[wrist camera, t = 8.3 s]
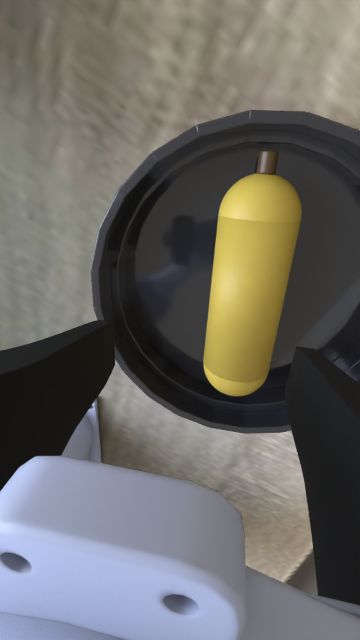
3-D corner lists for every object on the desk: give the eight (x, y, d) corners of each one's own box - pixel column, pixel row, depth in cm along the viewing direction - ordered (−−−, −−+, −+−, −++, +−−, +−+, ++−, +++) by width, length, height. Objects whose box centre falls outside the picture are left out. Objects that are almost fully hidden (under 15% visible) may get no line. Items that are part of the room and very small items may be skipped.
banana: (260, 376, 22) (266, 415, 18) (203, 368, 22) (197, 404, 19) (305, 157, 16) (326, 148, 12) (226, 153, 17) (223, 144, 13)
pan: (349, 414, 22) (369, 455, 19) (119, 378, 25) (100, 409, 21) (455, 132, 15) (519, 116, 11) (110, 121, 17) (78, 105, 14)
